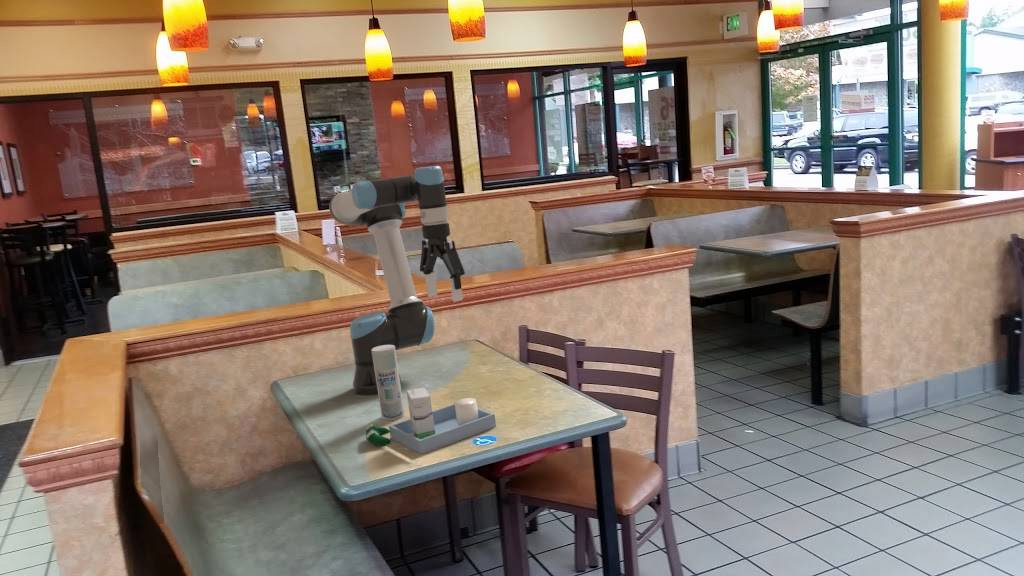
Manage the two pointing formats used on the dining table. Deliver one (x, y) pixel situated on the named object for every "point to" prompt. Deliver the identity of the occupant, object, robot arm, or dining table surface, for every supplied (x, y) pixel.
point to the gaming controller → (377, 435)
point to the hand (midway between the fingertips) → (445, 298)
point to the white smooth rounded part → (466, 410)
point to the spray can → (388, 382)
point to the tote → (441, 429)
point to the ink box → (420, 413)
